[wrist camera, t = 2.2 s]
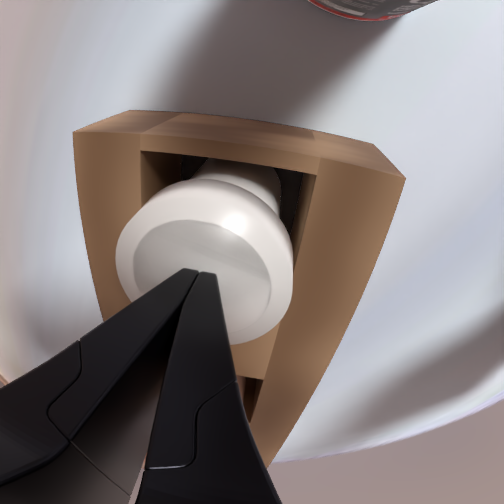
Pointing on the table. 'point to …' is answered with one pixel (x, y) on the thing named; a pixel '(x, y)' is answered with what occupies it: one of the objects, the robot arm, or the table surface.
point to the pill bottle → (370, 8)
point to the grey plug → (216, 243)
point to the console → (302, 235)
